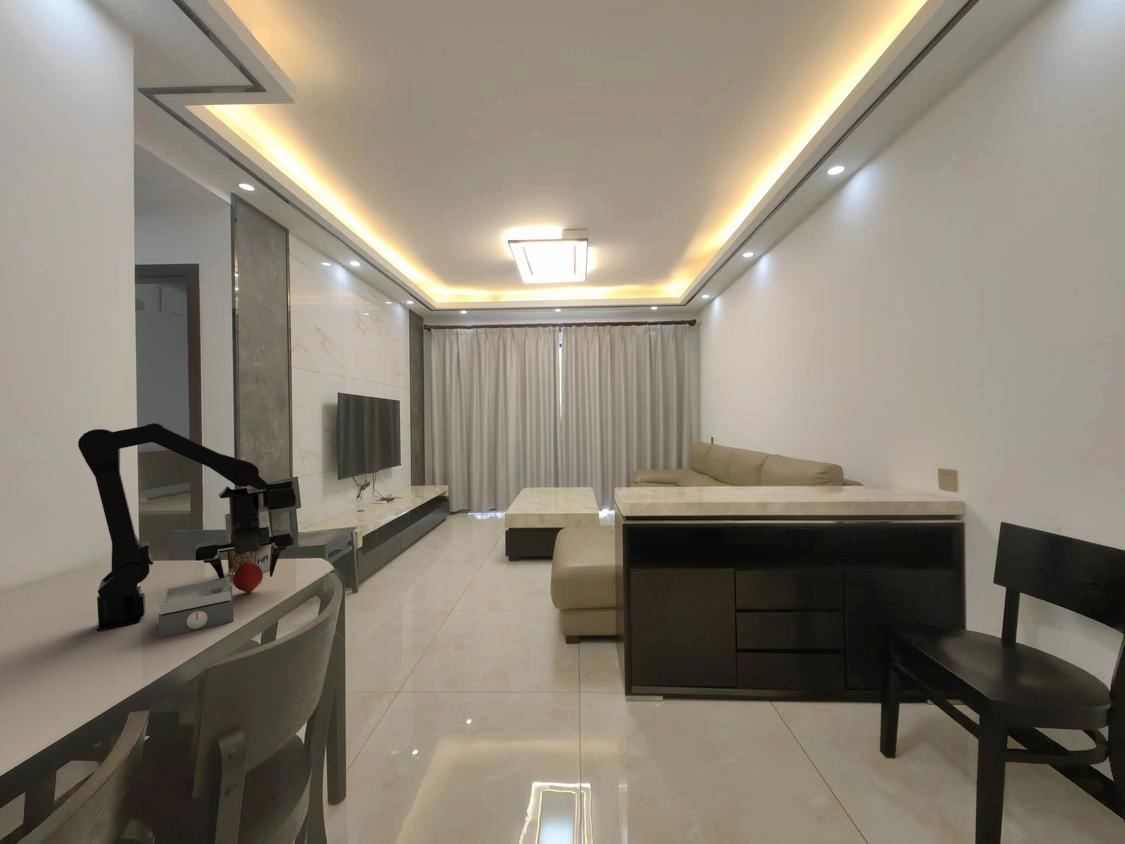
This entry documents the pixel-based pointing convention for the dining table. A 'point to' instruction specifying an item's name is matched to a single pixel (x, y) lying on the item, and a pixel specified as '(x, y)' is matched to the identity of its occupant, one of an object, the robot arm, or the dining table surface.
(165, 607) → the scale pan
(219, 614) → the scale base
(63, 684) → the dining table surface
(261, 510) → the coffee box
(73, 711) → the dining table surface
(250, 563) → the onion
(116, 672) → the dining table surface
